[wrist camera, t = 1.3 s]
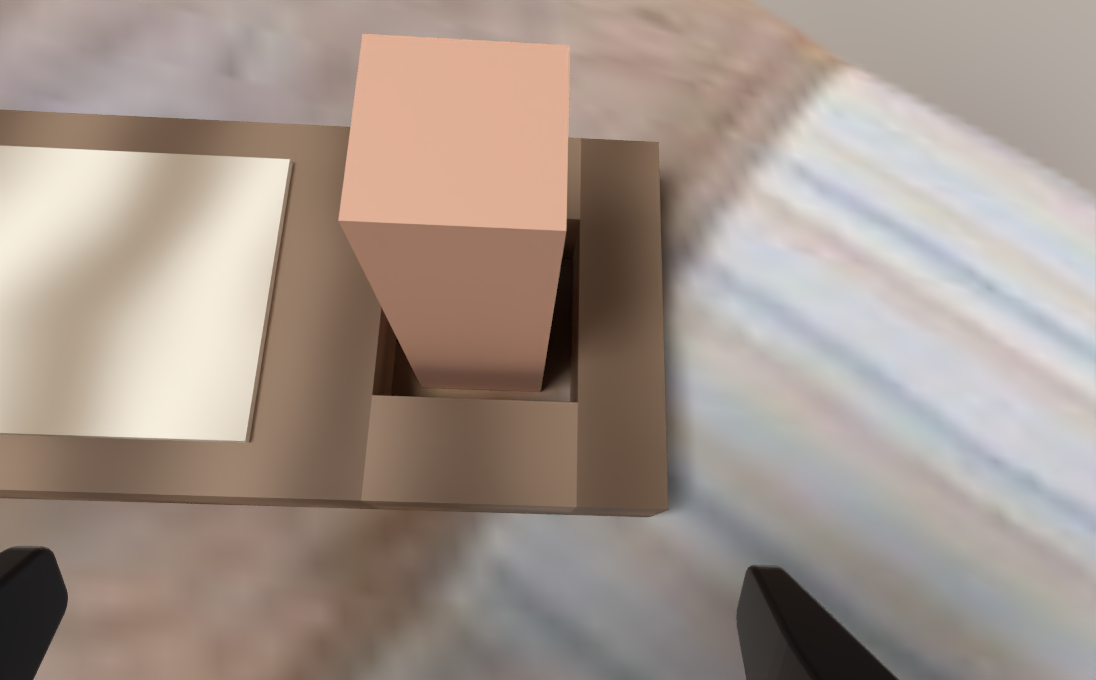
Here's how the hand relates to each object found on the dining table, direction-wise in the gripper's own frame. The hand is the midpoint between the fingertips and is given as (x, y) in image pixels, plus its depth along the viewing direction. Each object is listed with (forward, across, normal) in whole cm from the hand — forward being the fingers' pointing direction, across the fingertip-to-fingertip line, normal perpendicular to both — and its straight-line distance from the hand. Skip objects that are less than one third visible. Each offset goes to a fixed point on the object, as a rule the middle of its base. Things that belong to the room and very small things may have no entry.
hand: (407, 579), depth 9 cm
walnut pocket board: (+15, +5, +4) cm, 16 cm away
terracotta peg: (+15, 0, +4) cm, 16 cm away
